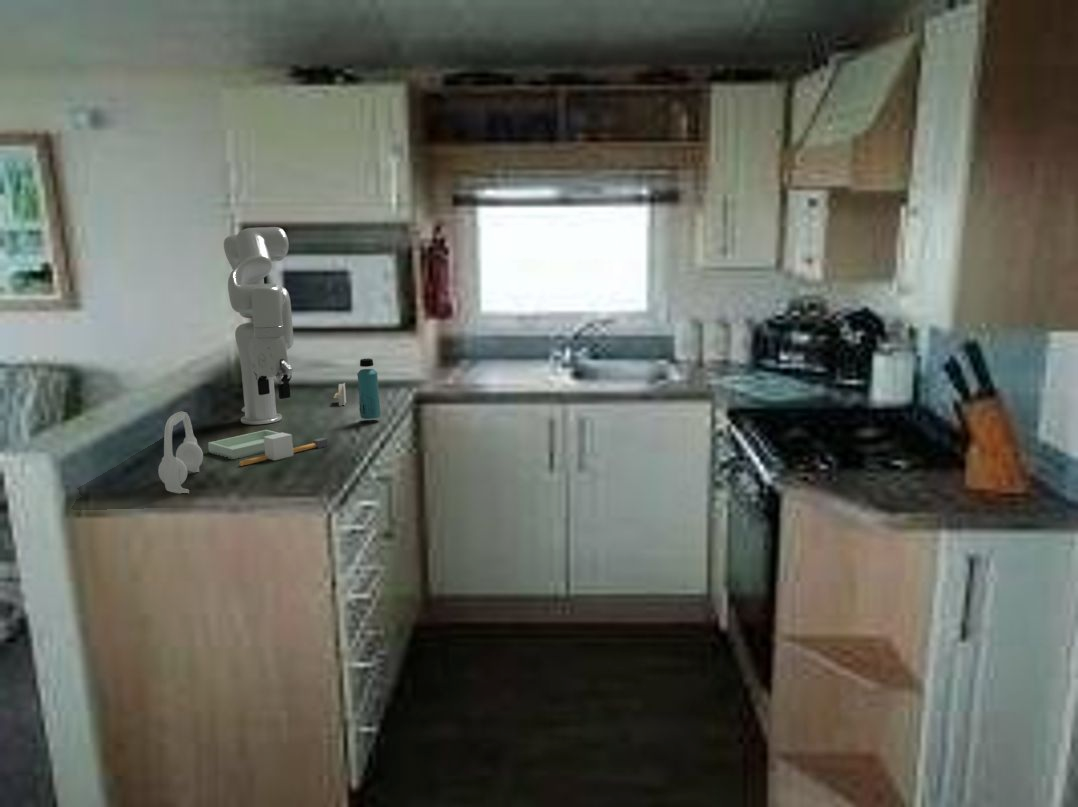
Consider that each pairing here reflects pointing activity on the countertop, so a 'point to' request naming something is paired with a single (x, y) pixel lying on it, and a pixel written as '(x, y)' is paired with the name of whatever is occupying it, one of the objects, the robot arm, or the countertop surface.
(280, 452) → the pale grey cuboid
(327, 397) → the countertop surface
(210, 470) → the countertop surface
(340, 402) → the architectural model
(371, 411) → the beverage bottle
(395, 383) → the countertop surface
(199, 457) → the headset
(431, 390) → the countertop surface
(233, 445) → the tray
